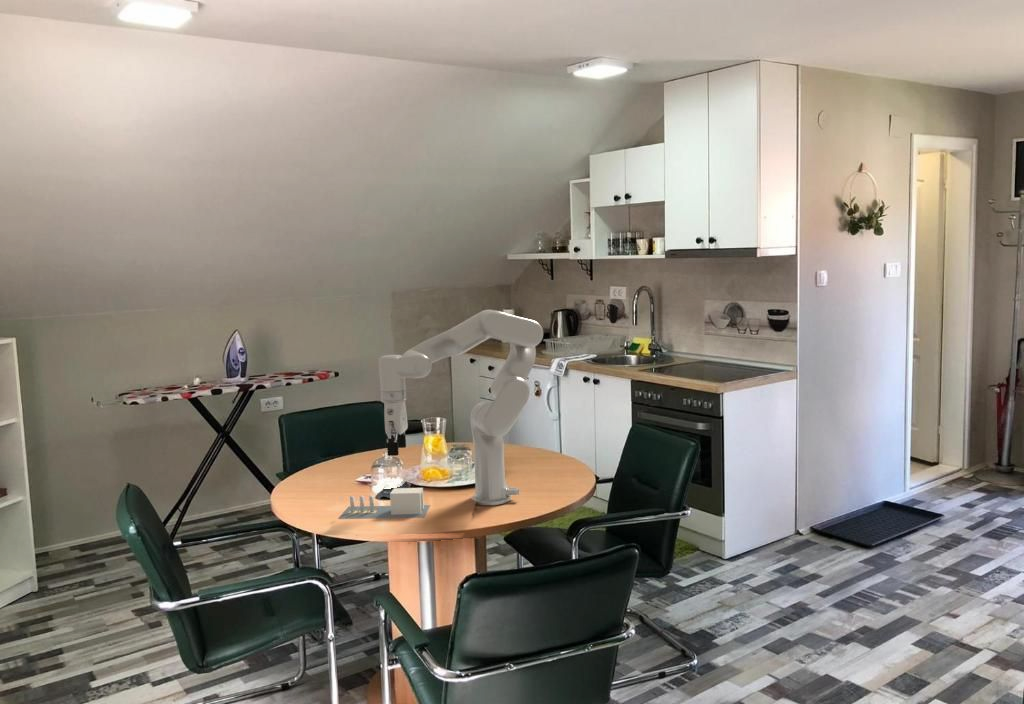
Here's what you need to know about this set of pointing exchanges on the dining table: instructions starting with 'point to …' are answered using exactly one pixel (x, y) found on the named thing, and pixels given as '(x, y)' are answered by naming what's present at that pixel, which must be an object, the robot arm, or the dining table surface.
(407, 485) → the electronic device
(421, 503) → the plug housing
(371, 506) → the header board
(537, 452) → the dining table surface
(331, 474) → the dining table surface
